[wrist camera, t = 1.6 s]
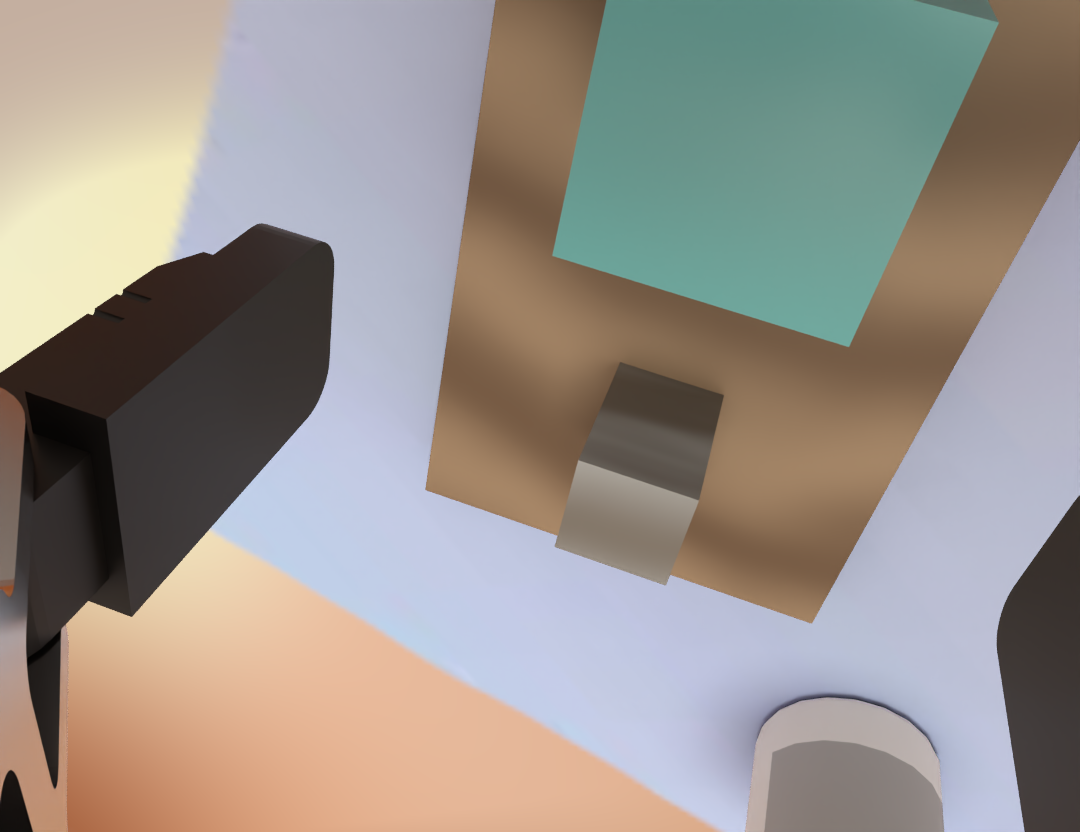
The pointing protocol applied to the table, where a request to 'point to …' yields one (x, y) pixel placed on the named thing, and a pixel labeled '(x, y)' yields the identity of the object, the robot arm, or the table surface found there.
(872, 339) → the board
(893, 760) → the spray bottle
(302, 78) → the table surface
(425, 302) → the table surface
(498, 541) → the table surface
